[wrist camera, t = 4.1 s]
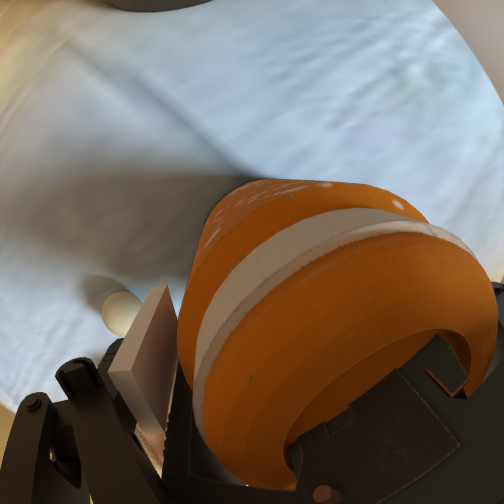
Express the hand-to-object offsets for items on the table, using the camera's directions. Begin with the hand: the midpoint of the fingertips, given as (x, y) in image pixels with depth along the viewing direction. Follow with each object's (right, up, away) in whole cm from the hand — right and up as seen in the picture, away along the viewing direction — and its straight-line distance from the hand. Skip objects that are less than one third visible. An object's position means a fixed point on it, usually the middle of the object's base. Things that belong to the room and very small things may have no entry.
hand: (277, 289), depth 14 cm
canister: (-1, +2, +7) cm, 7 cm away
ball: (-10, -2, +6) cm, 12 cm away
